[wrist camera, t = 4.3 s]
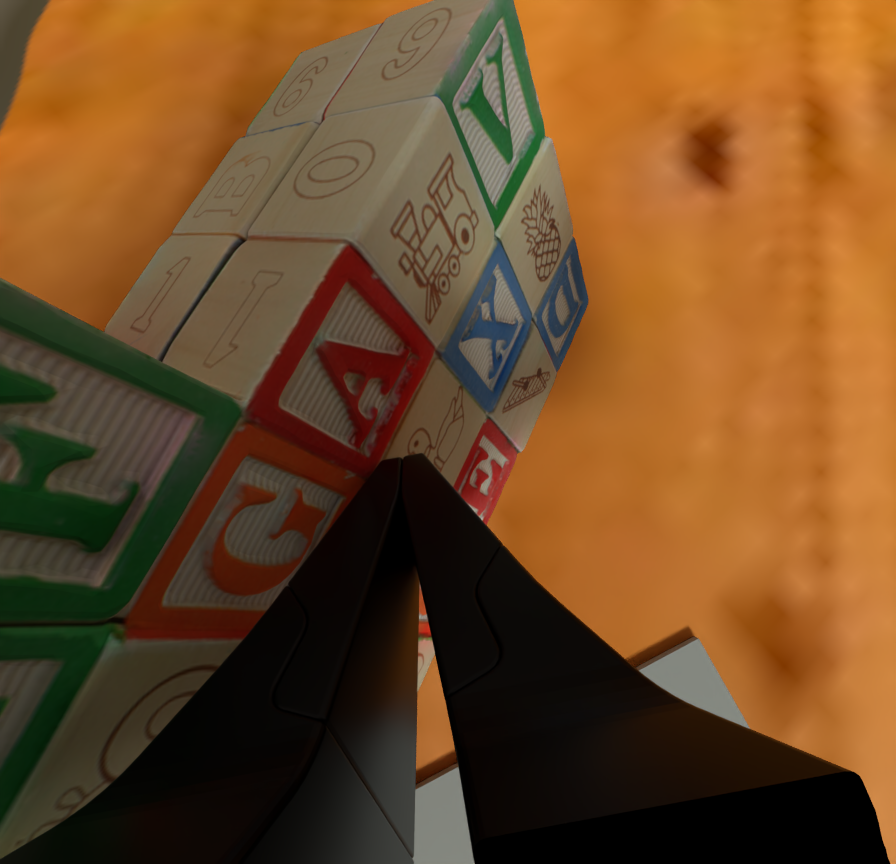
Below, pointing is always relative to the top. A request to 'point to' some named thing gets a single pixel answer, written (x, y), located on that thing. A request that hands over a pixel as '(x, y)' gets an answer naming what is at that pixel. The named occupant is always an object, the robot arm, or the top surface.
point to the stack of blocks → (272, 382)
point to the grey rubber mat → (440, 796)
